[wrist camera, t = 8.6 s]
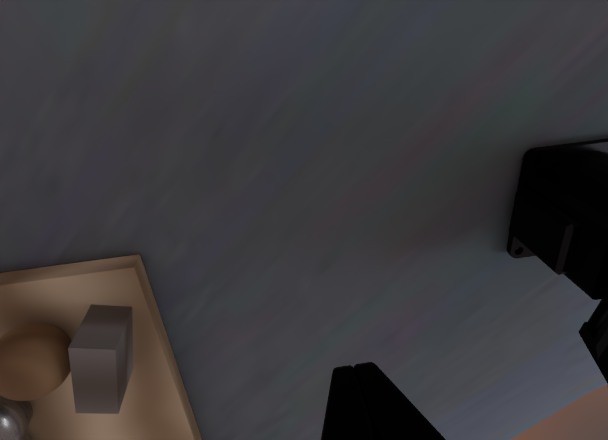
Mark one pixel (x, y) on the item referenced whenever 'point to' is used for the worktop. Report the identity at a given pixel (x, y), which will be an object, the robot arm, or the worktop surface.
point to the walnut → (33, 361)
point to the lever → (14, 419)
